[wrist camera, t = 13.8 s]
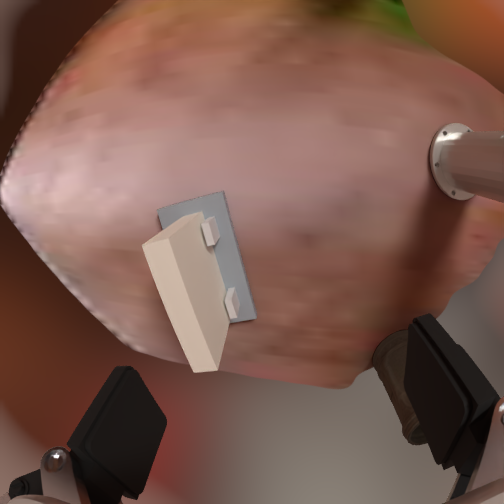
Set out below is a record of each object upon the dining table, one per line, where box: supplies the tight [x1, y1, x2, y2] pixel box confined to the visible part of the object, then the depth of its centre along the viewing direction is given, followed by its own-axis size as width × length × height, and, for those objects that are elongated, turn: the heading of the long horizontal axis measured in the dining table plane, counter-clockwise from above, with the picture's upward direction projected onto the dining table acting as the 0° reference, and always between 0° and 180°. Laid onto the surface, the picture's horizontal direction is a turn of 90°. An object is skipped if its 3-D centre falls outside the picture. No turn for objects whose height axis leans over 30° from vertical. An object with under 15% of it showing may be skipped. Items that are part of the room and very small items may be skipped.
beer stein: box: [373, 330, 428, 445], centre depth 37 cm, size 15×11×20 cm
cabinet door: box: [142, 211, 230, 373], centre depth 35 cm, size 4×16×14 cm, turn 14°
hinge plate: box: [157, 191, 257, 323], centre depth 41 cm, size 10×20×6 cm, turn 14°
